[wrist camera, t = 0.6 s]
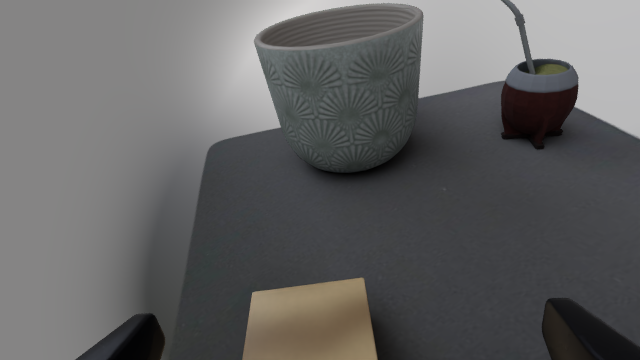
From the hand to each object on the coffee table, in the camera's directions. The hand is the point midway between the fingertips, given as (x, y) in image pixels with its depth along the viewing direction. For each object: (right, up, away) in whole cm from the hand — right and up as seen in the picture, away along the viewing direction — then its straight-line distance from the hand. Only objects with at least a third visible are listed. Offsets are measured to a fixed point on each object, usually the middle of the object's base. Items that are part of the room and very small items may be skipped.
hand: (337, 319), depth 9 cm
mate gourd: (+23, +8, +35) cm, 43 cm away
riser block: (0, -9, +15) cm, 18 cm away
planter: (+4, +6, +38) cm, 38 cm away
